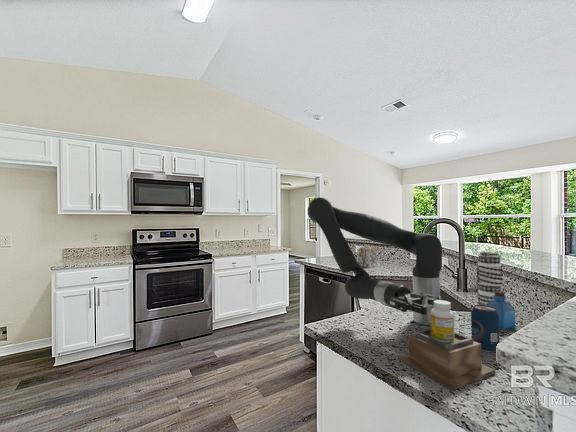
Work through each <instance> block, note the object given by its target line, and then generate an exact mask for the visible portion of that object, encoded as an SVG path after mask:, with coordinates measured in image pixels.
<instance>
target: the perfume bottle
mask: <svg viewBox="0 0 576 432" xmlns="http://www.w3.org/2000/svg"><path fill="white" fill-rule="evenodd" d="M494 292H495V294H494V298H495V300H491V301H490V302H489V303H488V304H487V306H491V307H494V308H496V311H497V313H498V314H499V329H501V330H508V329H513V328H516V309H515V308H514V307H513V305H512V303H510V301H506V299H507V297H506V292H505V291H502V290H501V291H494Z"/></svg>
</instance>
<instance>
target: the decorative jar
mask: <svg viewBox="0 0 576 432" xmlns="http://www.w3.org/2000/svg"><path fill="white" fill-rule="evenodd" d="M377 252H378V251H377V249H376V248H375V247H374V246H371V245H370V244H364V246H361V247H359V248H358V250H357V262H358V263H359V264H360V265H361V266H364V267H363V268H368V267H370V268H373V267H372V266H376V267H377V266H378V255H377Z"/></svg>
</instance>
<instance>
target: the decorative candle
mask: <svg viewBox="0 0 576 432" xmlns="http://www.w3.org/2000/svg"><path fill="white" fill-rule="evenodd" d="M477 256H478V261H477V265H478V266H477V267H476V275H477V276H476V278H477V280H476V282H477V284H478V293H477V296H478V297H477V300H478V301H477V305H486V306H487V304H488V303H489V302H490V301H491V300H495V298H494V294H495V292H494V291H501V292H502V286H503V282H502V281H503V280H504V278H503V276H504V275H503V273H502V272H504V269H502V268H504V266H503V265H502V263H501V255H500V254H499V253H498V252H497V251H493V250H492V251H487V250H483V251H480V252H479V254H477Z"/></svg>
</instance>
